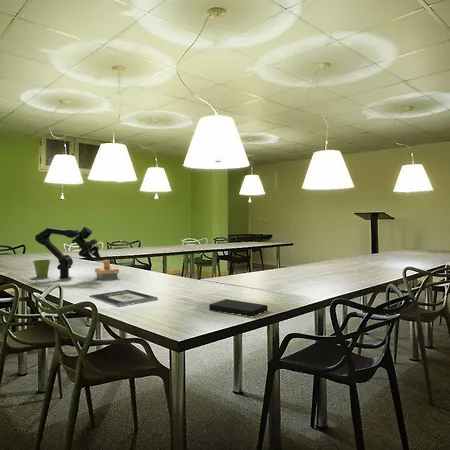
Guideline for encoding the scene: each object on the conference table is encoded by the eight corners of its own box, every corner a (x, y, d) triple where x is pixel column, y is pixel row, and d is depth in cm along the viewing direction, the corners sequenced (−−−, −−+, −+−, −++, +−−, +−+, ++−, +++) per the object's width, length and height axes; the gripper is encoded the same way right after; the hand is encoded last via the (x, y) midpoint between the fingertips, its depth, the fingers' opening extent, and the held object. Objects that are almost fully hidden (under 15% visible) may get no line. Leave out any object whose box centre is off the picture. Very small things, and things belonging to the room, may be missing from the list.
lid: (95, 272, 270) (95, 260, 270) (113, 270, 277) (112, 258, 277) (100, 274, 260) (100, 261, 259) (118, 272, 267) (118, 260, 267)
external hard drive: (251, 318, 168) (251, 311, 168) (209, 310, 182) (209, 304, 182) (267, 311, 180) (267, 305, 180) (226, 304, 193) (226, 298, 193)
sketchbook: (127, 292, 227) (127, 288, 227) (158, 301, 204) (158, 296, 204) (89, 297, 211) (89, 293, 211) (118, 308, 188) (118, 303, 188)
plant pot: (30, 276, 280) (29, 260, 280) (46, 274, 289) (46, 259, 289) (37, 278, 273) (36, 262, 272) (53, 276, 282) (53, 260, 281)
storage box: (96, 278, 270) (96, 270, 270) (112, 277, 276) (112, 268, 276) (101, 280, 261) (101, 272, 261) (117, 279, 267) (117, 270, 267)
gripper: (82, 236, 261) (97, 252, 259) (96, 234, 279) (110, 250, 277) (71, 247, 263) (87, 264, 261) (86, 245, 281) (100, 261, 279)
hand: (97, 259), depth 270 cm, fingers open, 9 cm apart
